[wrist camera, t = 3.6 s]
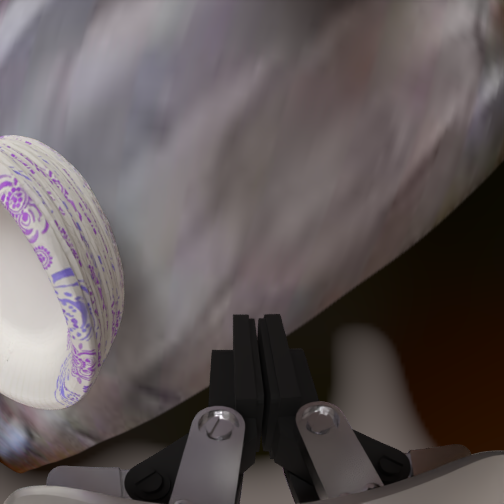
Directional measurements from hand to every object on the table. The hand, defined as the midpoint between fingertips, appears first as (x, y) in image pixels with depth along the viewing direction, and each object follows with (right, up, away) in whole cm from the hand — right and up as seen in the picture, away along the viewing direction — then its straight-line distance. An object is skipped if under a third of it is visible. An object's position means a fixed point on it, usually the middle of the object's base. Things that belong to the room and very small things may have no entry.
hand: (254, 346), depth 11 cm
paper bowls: (-14, +4, +6) cm, 16 cm away
